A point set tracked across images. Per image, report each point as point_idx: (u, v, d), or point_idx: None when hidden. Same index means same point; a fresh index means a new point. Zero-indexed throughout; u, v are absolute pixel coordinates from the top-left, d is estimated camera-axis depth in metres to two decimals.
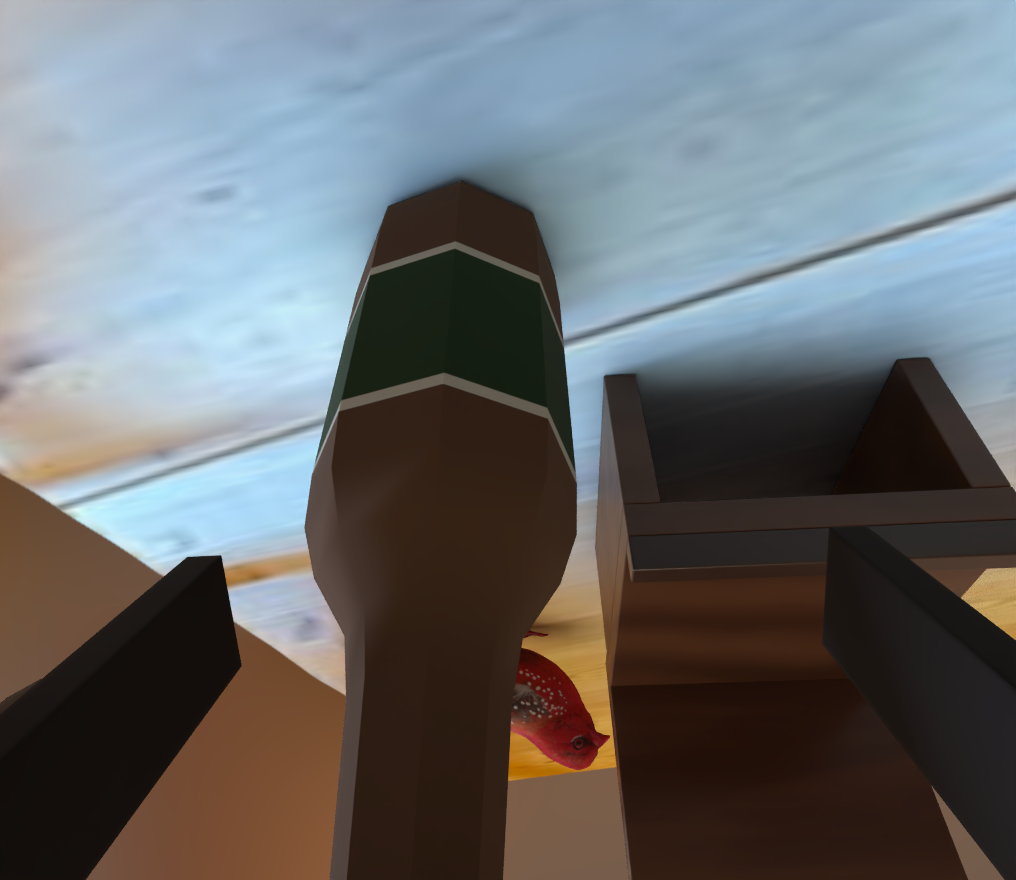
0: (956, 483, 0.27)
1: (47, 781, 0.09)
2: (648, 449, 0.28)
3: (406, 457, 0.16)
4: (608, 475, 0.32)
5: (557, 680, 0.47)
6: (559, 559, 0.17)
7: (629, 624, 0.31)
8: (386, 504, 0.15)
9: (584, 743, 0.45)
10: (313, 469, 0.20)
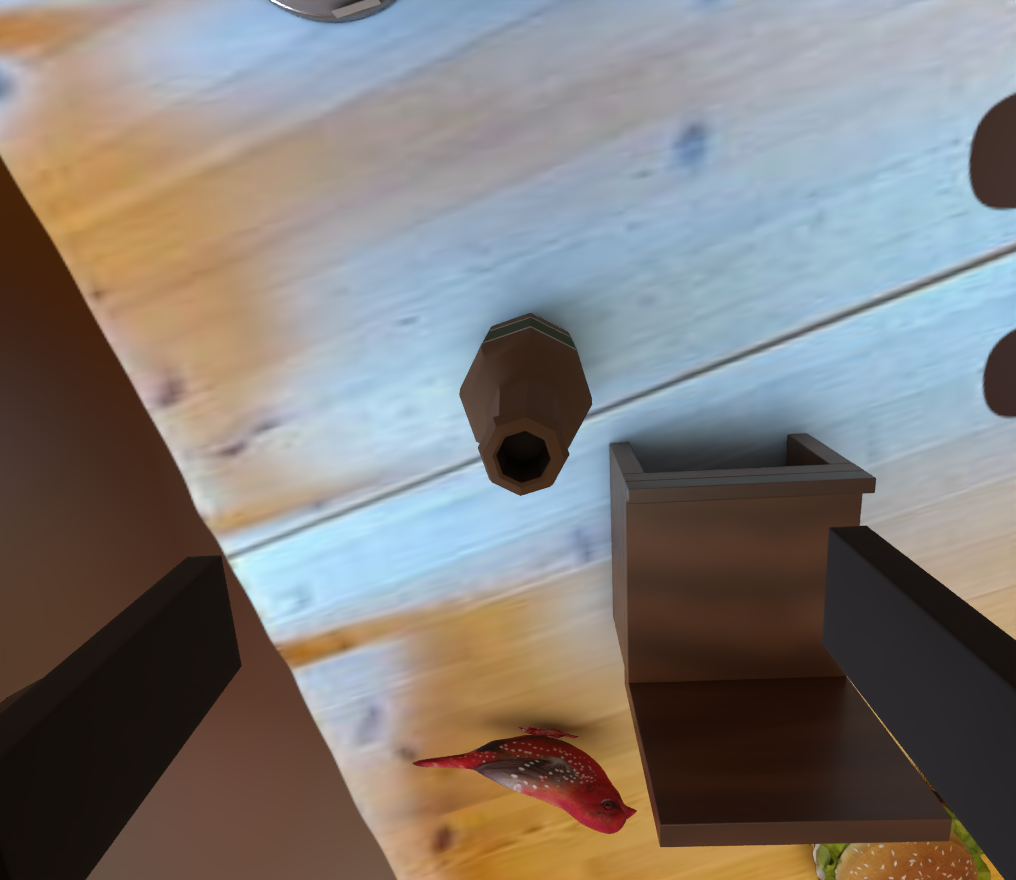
0: None
1: (47, 781, 0.09)
2: (637, 460, 0.47)
3: (516, 339, 0.36)
4: (615, 499, 0.49)
5: (587, 759, 0.54)
6: (583, 399, 0.36)
7: (635, 586, 0.45)
8: (507, 350, 0.36)
9: (613, 806, 0.50)
10: None
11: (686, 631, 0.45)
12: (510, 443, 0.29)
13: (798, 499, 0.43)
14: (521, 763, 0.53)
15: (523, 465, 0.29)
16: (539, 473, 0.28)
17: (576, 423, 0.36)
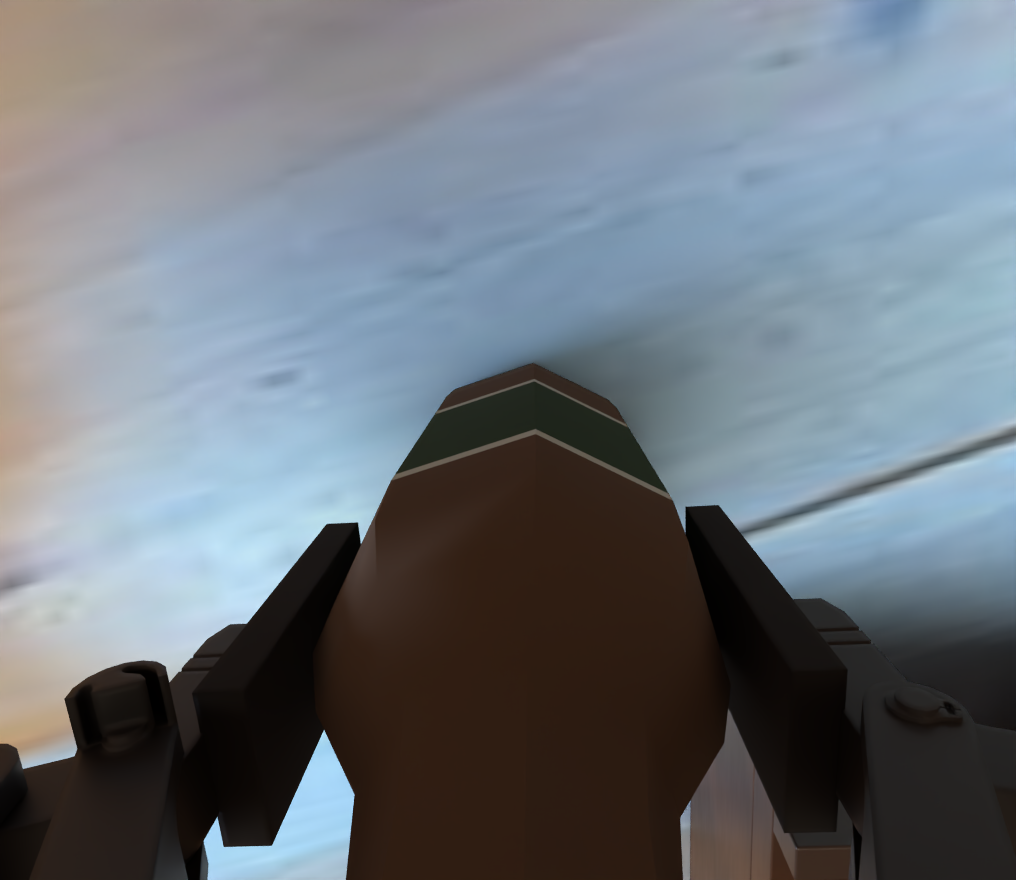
0: None
1: (275, 702, 0.11)
2: None
3: (487, 492, 0.11)
4: None
5: None
6: (718, 696, 0.11)
7: None
8: (455, 543, 0.10)
9: None
10: None
11: None
12: None
13: None
14: None
15: None
16: None
17: None
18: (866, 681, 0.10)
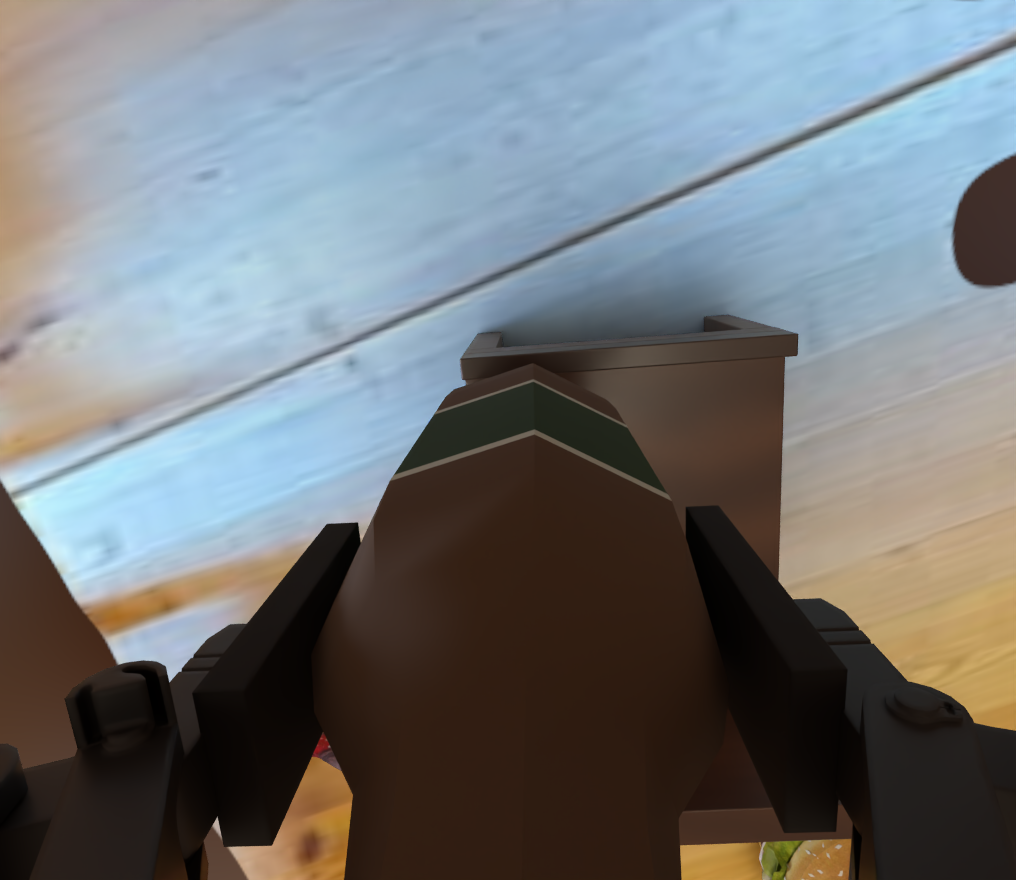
0: None
1: (275, 702, 0.11)
2: (496, 341, 0.35)
3: (486, 492, 0.11)
4: None
5: None
6: (717, 697, 0.11)
7: None
8: (453, 544, 0.10)
9: None
10: None
11: None
12: None
13: (698, 374, 0.31)
14: None
15: None
16: None
17: None
18: (867, 681, 0.10)
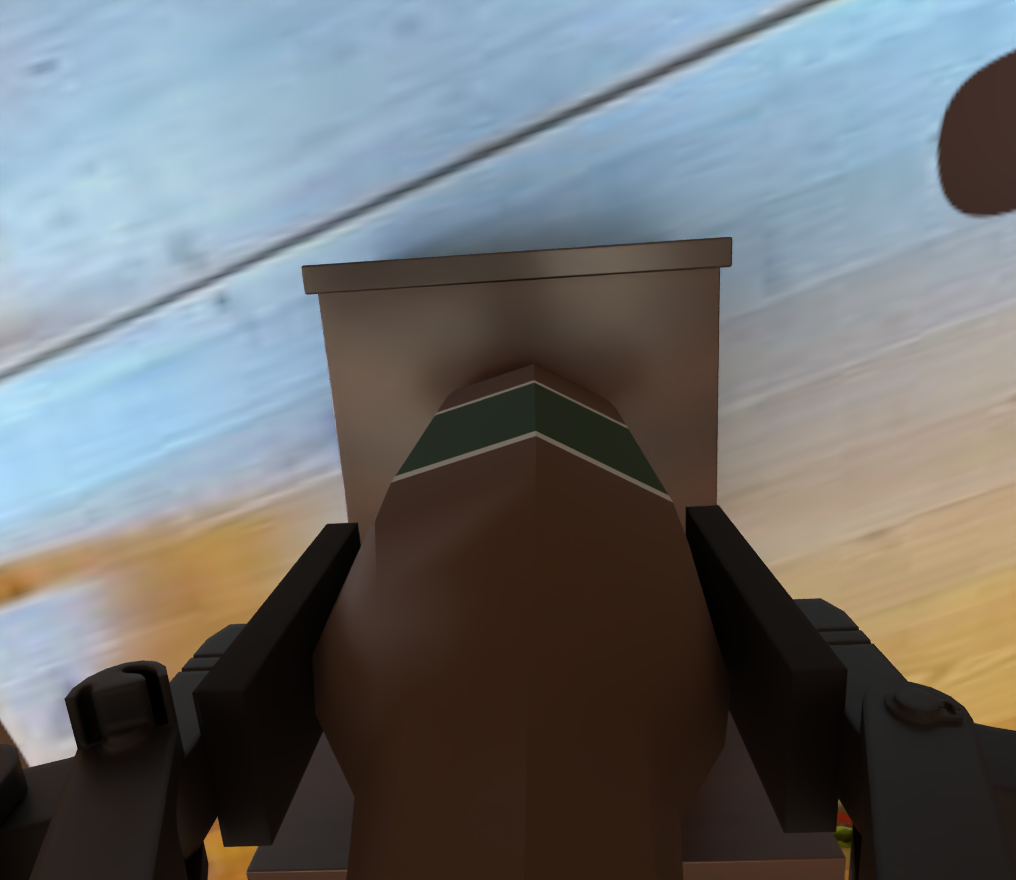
0: None
1: (275, 702, 0.11)
2: None
3: (487, 493, 0.11)
4: None
5: None
6: (718, 699, 0.11)
7: (353, 458, 0.27)
8: (455, 546, 0.10)
9: None
10: None
11: None
12: None
13: (611, 295, 0.25)
14: None
15: None
16: None
17: None
18: (866, 681, 0.10)
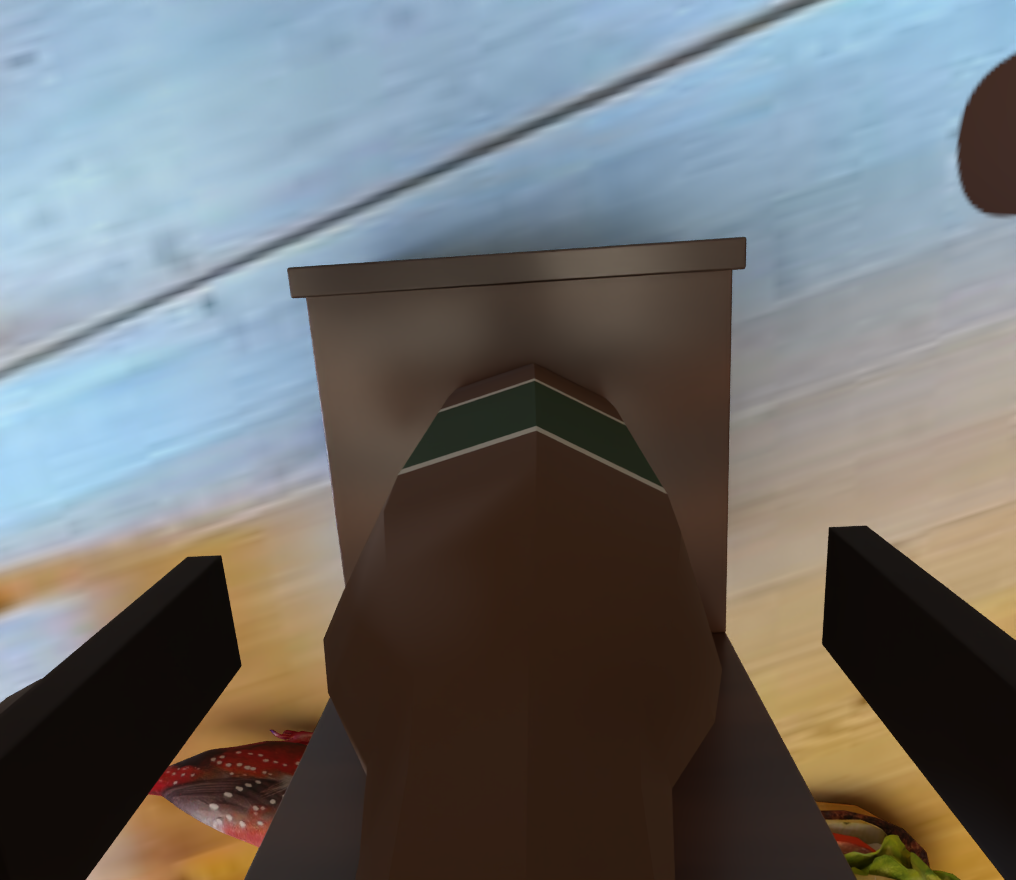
0: None
1: (47, 781, 0.09)
2: None
3: (490, 484, 0.11)
4: None
5: None
6: (709, 678, 0.11)
7: (343, 470, 0.25)
8: (460, 533, 0.11)
9: None
10: None
11: None
12: None
13: (616, 299, 0.23)
14: (231, 785, 0.33)
15: None
16: None
17: None
18: None
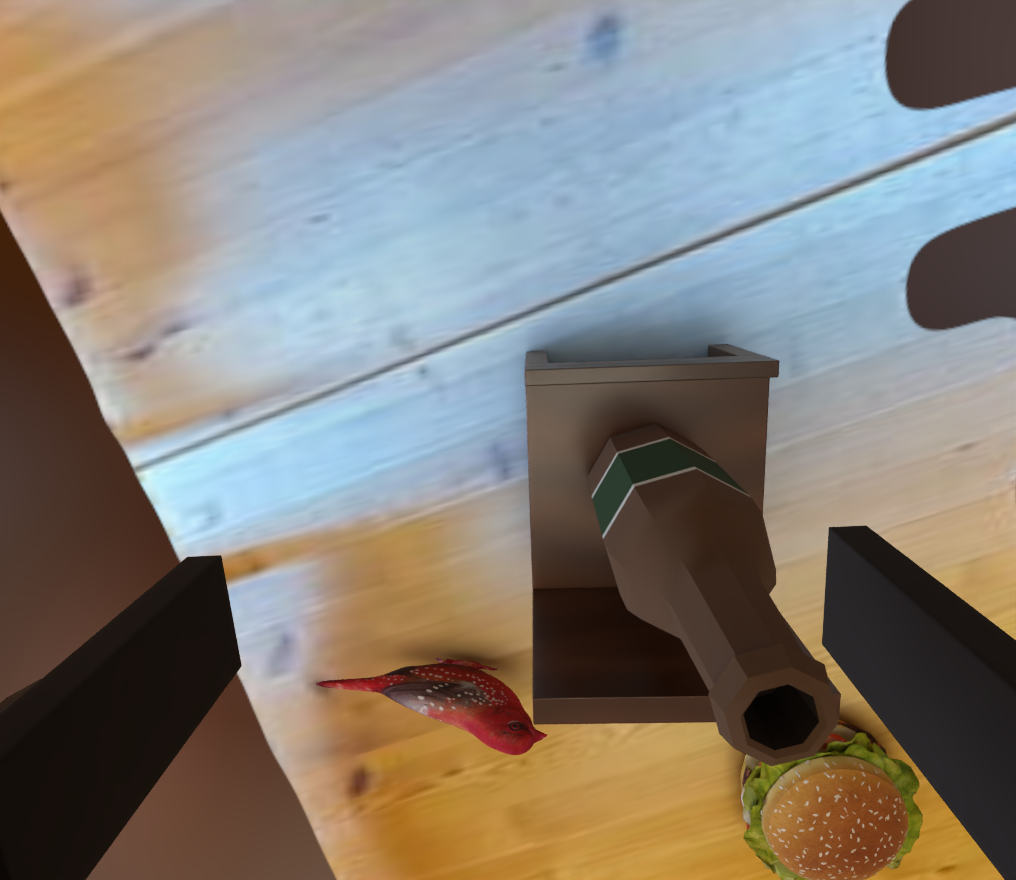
0: None
1: (47, 781, 0.09)
2: (546, 358, 0.45)
3: (688, 491, 0.29)
4: None
5: (500, 686, 0.52)
6: (773, 568, 0.29)
7: (537, 482, 0.43)
8: (682, 509, 0.28)
9: (520, 727, 0.48)
10: (603, 536, 0.32)
11: (591, 532, 0.44)
12: None
13: (703, 388, 0.41)
14: (429, 685, 0.50)
15: (757, 706, 0.21)
16: (795, 732, 0.20)
17: None
18: None
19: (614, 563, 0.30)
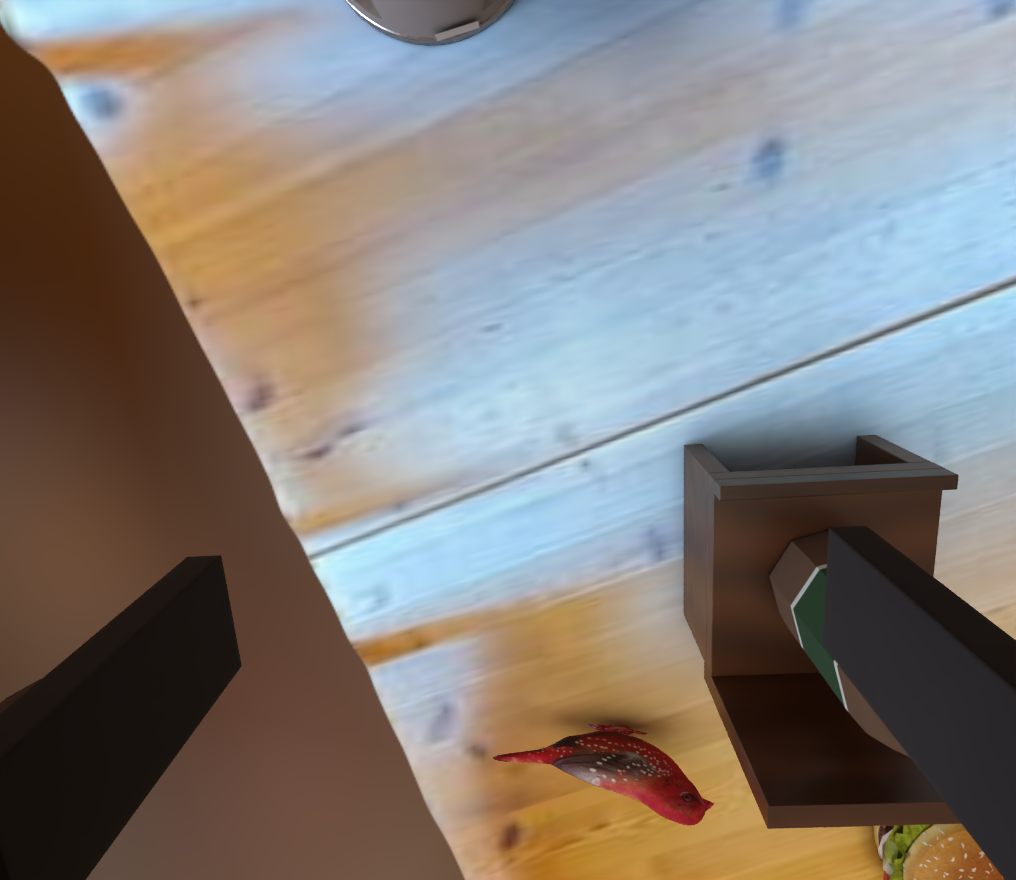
0: None
1: (47, 781, 0.09)
2: (717, 460, 0.49)
3: None
4: (693, 498, 0.51)
5: (661, 754, 0.55)
6: None
7: (720, 581, 0.46)
8: None
9: (692, 798, 0.51)
10: (835, 663, 0.36)
11: (769, 625, 0.47)
12: None
13: (880, 496, 0.44)
14: (598, 758, 0.54)
15: None
16: None
17: None
18: None
19: (860, 695, 0.33)
